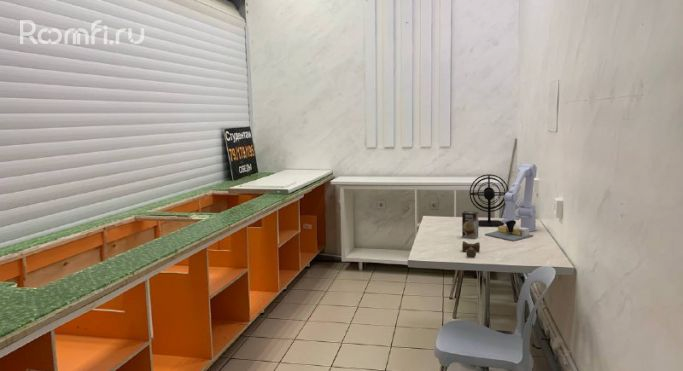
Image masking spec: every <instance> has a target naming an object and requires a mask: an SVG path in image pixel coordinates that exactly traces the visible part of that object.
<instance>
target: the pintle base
mask: <svg viewBox="0 0 683 371" xmlns="http://www.w3.org/2000/svg"><path fill="white" fill-rule="evenodd" d="M503 227H505V228H507V225H506V224H504V225H503ZM516 229H517V230H520V231H522V235H517V234H512V233H504V232H500V231H498V230H495V231H491V232H486V233H484V236H486V237H491V238H494V239H500V240H504V241H509V242H517V241H521V240H525V239H529V238H533V237H534V234H530V232H529V228H524V227H521V226H520V227H517V228H516Z"/></svg>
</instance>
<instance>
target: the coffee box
mask: <svg viewBox="0 0 683 371" xmlns="http://www.w3.org/2000/svg"><path fill="white" fill-rule="evenodd" d="M461 214H462V216H461V217H462V218H461V223H462V224H461V226H462V228H461V231H462V232H461V234H462V235H461V237H462V238H464V239H474V240H476V239H477V238H479V226H478V220H479V211H463V212H462V213H461Z"/></svg>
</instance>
